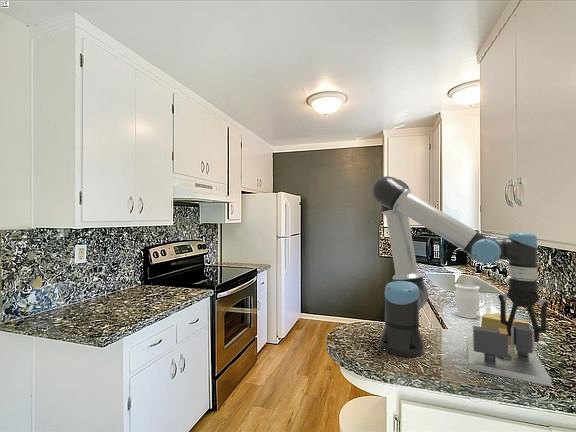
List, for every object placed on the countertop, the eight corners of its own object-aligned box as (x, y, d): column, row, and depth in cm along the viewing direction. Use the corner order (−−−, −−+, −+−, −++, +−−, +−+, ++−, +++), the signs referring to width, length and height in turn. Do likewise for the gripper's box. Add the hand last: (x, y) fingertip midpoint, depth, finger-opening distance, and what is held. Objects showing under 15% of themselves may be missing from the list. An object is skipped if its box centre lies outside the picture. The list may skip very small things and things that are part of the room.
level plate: (468, 369, 95) (468, 360, 95) (466, 342, 116) (466, 335, 116) (551, 386, 85) (551, 377, 85) (532, 354, 106) (532, 346, 106)
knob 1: (473, 358, 98) (473, 327, 98) (473, 354, 101) (473, 323, 102) (508, 365, 93) (507, 332, 94) (506, 360, 97) (506, 328, 97)
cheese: (484, 334, 125) (484, 310, 125) (517, 341, 118) (516, 315, 118) (480, 342, 117) (480, 316, 117) (515, 350, 110) (515, 322, 110)
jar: (473, 313, 154) (472, 283, 154) (484, 319, 144) (483, 288, 144) (451, 312, 155) (451, 283, 155) (460, 319, 145) (460, 287, 145)
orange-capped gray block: (532, 361, 96) (532, 329, 97) (516, 358, 99) (516, 327, 99) (528, 351, 104) (528, 322, 104) (514, 348, 106) (514, 319, 106)
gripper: (489, 276, 105) (489, 344, 105) (557, 284, 93) (557, 360, 93) (493, 274, 110) (493, 338, 110) (558, 281, 98) (558, 353, 98)
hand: (522, 348), depth 101 cm, fingers open, 5 cm apart
